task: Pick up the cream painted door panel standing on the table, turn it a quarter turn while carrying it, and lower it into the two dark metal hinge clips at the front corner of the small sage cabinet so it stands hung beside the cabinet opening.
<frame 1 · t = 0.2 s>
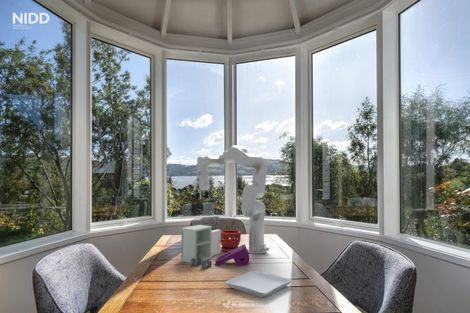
hand: (202, 198, 222), 31 cm above the table, tool pointing down, fingers open, 9 cm apart
hinge clips: (201, 266, 164), on the table
door: (213, 254, 188), on the table
salad plate: (258, 288, 134), on the table
plant pot: (230, 250, 198), on the table
cabinet: (196, 259, 177), on the table
mounting bracket: (231, 264, 169), on the table
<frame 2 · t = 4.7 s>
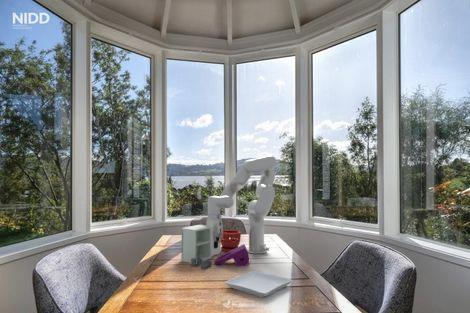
hand: (213, 247, 188), 4 cm above the table, tool pointing down, fingers closed on door, 2 cm apart
door: (213, 254, 188), on the table, touching gripper
everything else where it was.
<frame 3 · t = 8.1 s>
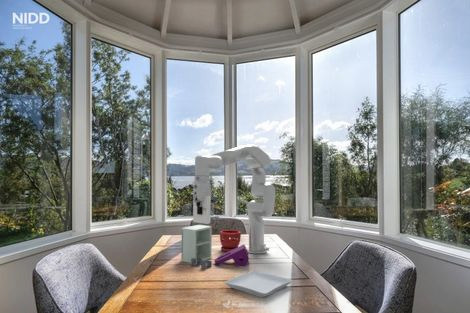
hand: (201, 213, 165), 27 cm above the table, tool pointing down, fingers closed on door, 2 cm apart
door: (201, 222, 165), point 23 cm above the table, touching gripper
everything else where it was.
when the fingers open (6 cm above the table, at t = 11.7 s): door stays where it is, resting on hinge clips.
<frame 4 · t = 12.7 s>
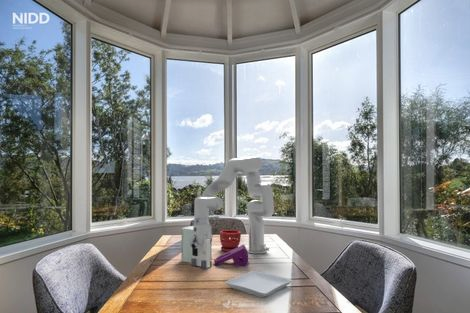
hand: (201, 253, 164), 7 cm above the table, tool pointing down, fingers open, 9 cm apart
door: (201, 265, 164), resting on hinge clips
everything else where it was.
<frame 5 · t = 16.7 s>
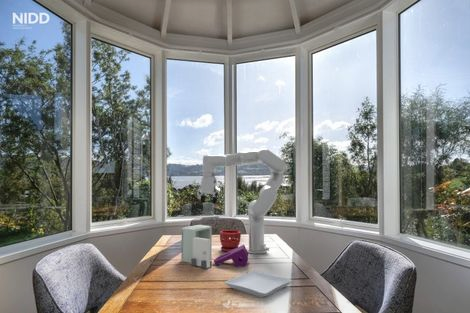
hand: (208, 203, 193), 30 cm above the table, tool pointing down, fingers open, 9 cm apart
nothing on the table moved.
at the end: door 0.0 cm off-centre on the hinge clips, point 0.4 cm above the hinge clips's base; door tilted 0°; the gripper is holding nothing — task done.
